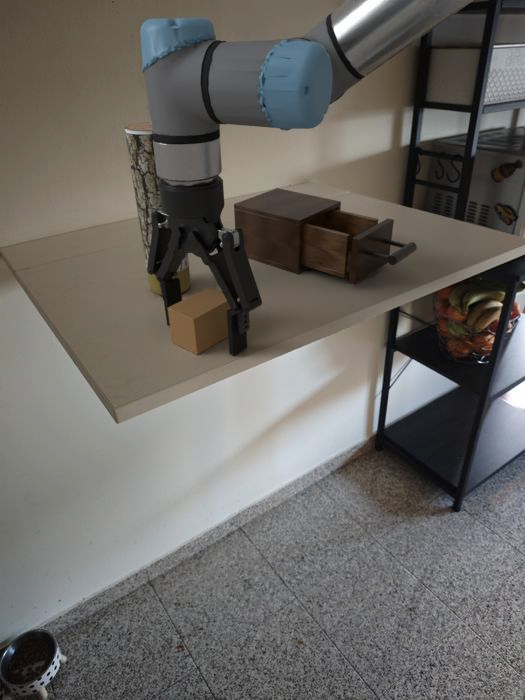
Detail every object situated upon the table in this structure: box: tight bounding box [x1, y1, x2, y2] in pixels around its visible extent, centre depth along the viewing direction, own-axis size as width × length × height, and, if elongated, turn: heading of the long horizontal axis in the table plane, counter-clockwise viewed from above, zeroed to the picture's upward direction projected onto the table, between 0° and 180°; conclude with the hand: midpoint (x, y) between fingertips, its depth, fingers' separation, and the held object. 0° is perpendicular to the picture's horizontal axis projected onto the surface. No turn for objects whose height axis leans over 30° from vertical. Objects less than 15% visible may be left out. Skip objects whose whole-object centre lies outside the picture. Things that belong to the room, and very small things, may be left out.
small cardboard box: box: [168, 286, 231, 356], centre depth 69 cm, size 8×5×6 cm, turn 141°
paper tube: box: [124, 121, 192, 296], centre depth 76 cm, size 7×7×25 cm
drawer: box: [301, 209, 418, 286], centre depth 84 cm, size 19×11×8 cm, turn 51°
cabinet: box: [233, 187, 342, 275], centre depth 92 cm, size 15×13×10 cm
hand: (205, 335), depth 70 cm, fingers open, 12 cm apart
